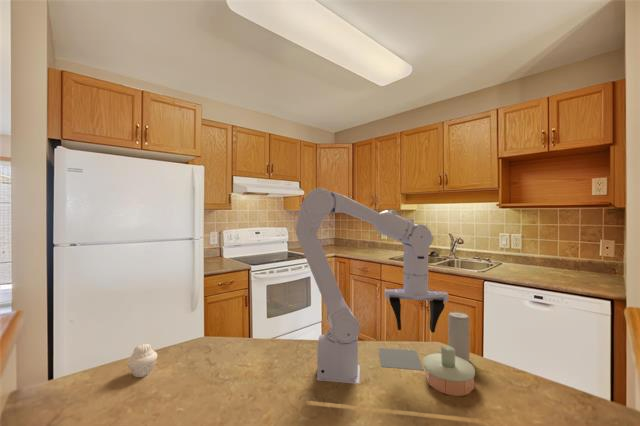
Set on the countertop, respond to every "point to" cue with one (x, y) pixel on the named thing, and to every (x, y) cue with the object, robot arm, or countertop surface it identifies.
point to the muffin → (142, 360)
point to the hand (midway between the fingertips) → (415, 329)
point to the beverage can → (459, 334)
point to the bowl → (450, 385)
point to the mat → (400, 359)
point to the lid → (449, 366)
